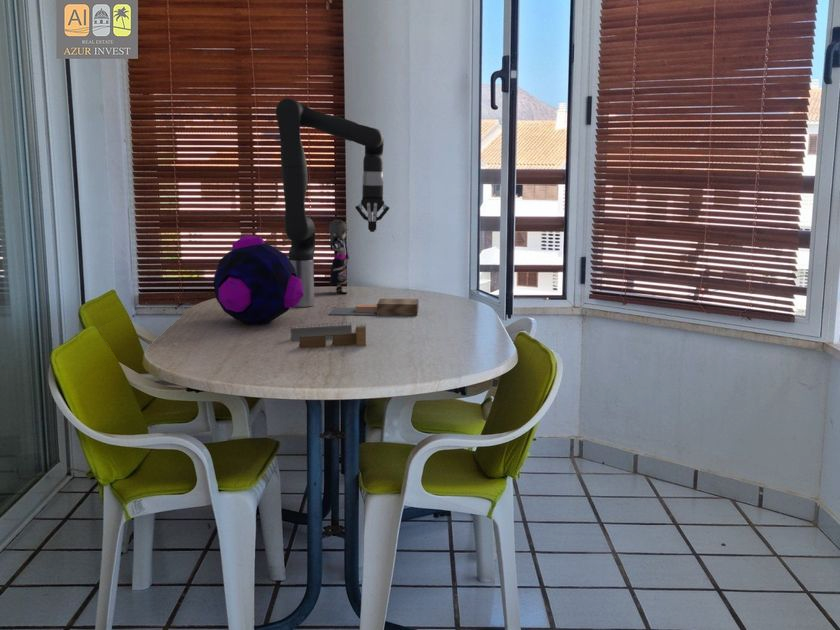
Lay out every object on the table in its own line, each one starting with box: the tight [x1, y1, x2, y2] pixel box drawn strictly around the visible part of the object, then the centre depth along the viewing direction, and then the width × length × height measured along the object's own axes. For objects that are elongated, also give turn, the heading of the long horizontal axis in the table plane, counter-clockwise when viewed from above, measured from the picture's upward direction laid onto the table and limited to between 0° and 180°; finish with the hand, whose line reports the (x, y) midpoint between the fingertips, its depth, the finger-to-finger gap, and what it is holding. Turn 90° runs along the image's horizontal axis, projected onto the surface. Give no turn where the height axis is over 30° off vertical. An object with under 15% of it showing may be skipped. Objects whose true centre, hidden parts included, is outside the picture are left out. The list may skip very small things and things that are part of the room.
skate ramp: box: [290, 321, 367, 349], centre depth 267 cm, size 29×35×8 cm
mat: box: [328, 307, 377, 317], centre depth 325 cm, size 16×14×1 cm
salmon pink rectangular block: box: [355, 303, 377, 313], centre depth 325 cm, size 8×6×2 cm
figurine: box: [328, 219, 350, 294], centre depth 363 cm, size 17×8×30 cm, turn 179°
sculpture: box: [213, 234, 304, 325], centre depth 300 cm, size 30×29×30 cm
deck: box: [376, 298, 420, 316], centre depth 324 cm, size 14×12×4 cm
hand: (372, 231), depth 333 cm, fingers closed
